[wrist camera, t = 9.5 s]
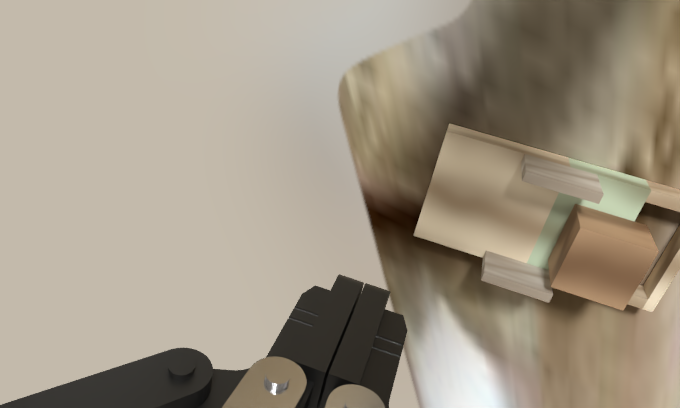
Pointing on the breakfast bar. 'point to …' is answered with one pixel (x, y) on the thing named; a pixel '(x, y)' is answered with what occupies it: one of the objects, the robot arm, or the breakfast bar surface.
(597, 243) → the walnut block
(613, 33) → the breakfast bar surface
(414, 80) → the breakfast bar surface
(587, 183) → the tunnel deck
